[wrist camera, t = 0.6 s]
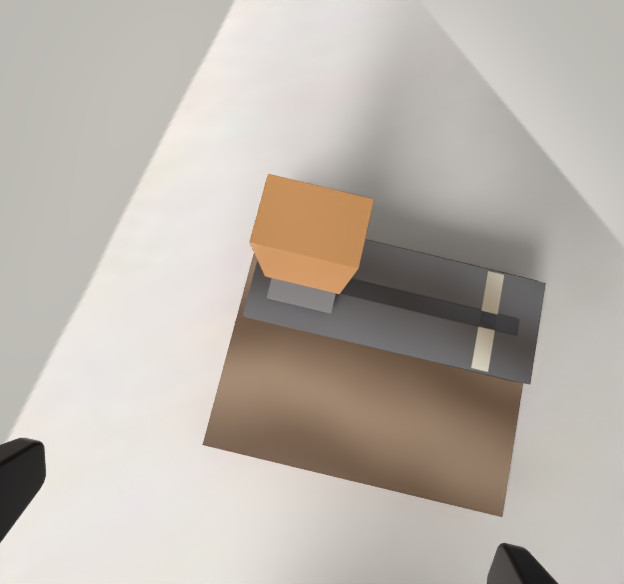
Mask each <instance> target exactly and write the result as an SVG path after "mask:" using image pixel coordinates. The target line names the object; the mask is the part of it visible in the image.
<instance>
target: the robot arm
mask: <svg viewBox="0 0 624 584" xmlns="http://www.w3.org/2000/svg"><path fill="white" fill-rule="evenodd" d="M45 477H46V464H45V448H44V445H43V443H42V442H40V441H38V440H33V439H29V438H18V439H15V440H13V441H10V442H7V443H4V444H1V445H0V543H1V541H2V540H3V539H4V537H5V536H6V535H7V533H8V532H9V530H10V529H11V528H12V526H13V525H14V524H15V522H16V521H17V520H18V518H19V517H20V516H21V514H22V513H23V511H24V510H25V509H26V507H27V506H28V505H29V503H30V502H31V501H32V499H33V498H34V497H35V495H36V494H37V492H38V491H39V490H40V488H41V487H42V485H43V483H44V480H45ZM487 584H558V583H557V582H556V581H555V580H554V579H553V577H552V576H551V575H550V574H549V573H548V572H547V571H546V570H545V569H544V568H543V567H542V565H541V564H540V563H539V562H538V561H537V560H536V559H535V558H534V557H533V556H532V555H531V553H530V552H529V551H528V550H526V549H525V548H523V547H520V546H516V545H511V544H507V543H502V544H500V545H499V546H498V548H497V551H496V554H495V557H494V559H493V562H492V565H491V568H490V570H489V573H488V577H487Z"/></svg>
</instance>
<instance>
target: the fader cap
mask: <svg viewBox="0 0 624 584" xmlns="http://www.w3.org/2000/svg"><path fill="white" fill-rule="evenodd" d="M373 202H374V199H371V198H367V197H363V196H358V195H354V194H350V193H346V192H342V191H338V190H333V189H329V188H325V187H321V186H317V185H313V184H308V183H304V182H300V181H296V180H292V179H288V178H284V177H279V176H275V175H271V174H268V176H267V179H266V183H265V187H264V190H263V194H262V198H261V202H260V205H259V209H258V213H257V216H256V220H255V224H254V227H253V231H252V235H251V239H250V245H251V247H252V249H253V251H254V253H255V256H256V258H257V260H258V262H259V264H260V267H261V269H262V271H263V273H264V275H265V276H266V277H270V278H272V279H271V283H270V287H269V290H268V294H267V298H268V299H271V300H276V301H280V302H284V303H288V304H292V305H296V306H301V307H305V308H309V309H313V310H317V311H321V312H325V313H331V312H332V307H333V303H334V299H335V294H340V293H341V291H342V290H343V289H344V287H345V286H346V285H347V283H348V282H349V281H350V279H351V278H352V277H353V275H354V274H355V273H356V271H357V270H358V268H359V264H360V260H361V255H362V251H363V246H364V242H365V237H366V233H367V228H368V224H369V220H370V215H371V211H372V206H373Z"/></svg>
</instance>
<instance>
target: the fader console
mask: <svg viewBox="0 0 624 584" xmlns="http://www.w3.org/2000/svg"><path fill="white" fill-rule="evenodd" d="M271 279H272V278H270V277H266V276H265V275H264V273H263V271H262V269H261V267H260V264H259V262H258V260H257V258H256V256H255V253H254V255H253V258H252V262H251V266H250V269H249V273H248V277H247V281H246V284H245V288H244V292H243V296H242V299H241V303H240V307H239V311H238V314H237V318H236V322H235V326H234V329H233V333H232V337H231V341H230V344H229V348H228V352H227V356H226V359H225V363H224V367H223V371H222V374H221V378H220V382H219V386H218V389H217V393H216V397H215V401H214V404H213V408H212V412H211V416H210V419H209V423H208V427H207V431H206V434H205V438H204V442H203V445H205V446H209V447H213V448H218V449H222V450H226V451H230V452H234V453H238V454H242V455H247V456H251V457H255V458H259V459H263V460H267V461H272V462H276V463H280V464H284V465H288V466H292V467H296V468H301V469H305V470H309V471H313V472H317V473H321V474H326V475H330V476H334V477H338V478H342V479H346V480H350V481H355V482H359V483H363V484H367V485H371V486H375V487H379V488H384V489H388V490H392V491H396V492H400V493H404V494H409V495H413V496H417V497H421V498H425V499H429V500H433V501H438V502H442V503H446V504H450V505H454V506H458V507H463V508H467V509H471V510H475V511H479V512H483V513H487V514H492V515H496V516H500V517H502V516H503V509H504V503H505V496H506V490H507V483H508V477H509V471H510V464H511V458H512V451H513V445H514V438H515V432H516V425H517V419H518V412H519V406H520V399H521V393H522V386H523V383H525V384H530V383H531V376H532V369H533V363H534V356H535V350H536V343H537V336H538V330H539V323H540V317H541V310H542V303H543V297H544V290H545V284H546V283H543V282H539V281H537V280H533V279H529V278H524V277H520V276H516V275H512V274H508V273H504V272H500V271H495V270H491V269H487V268H483V267H479V266H475V265H470V264H466V263H462V262H458V261H454V260H450V259H445V258H441V257H437V256H433V255H429V254H425V253H421V252H416V251H412V250H408V249H404V248H400V247H396V246H391V245H387V244H383V243H379V242H375V241H371V240H366V239H365V242H364V246H363V251H362V255H361V260H360V264H359V268H358V270H357V271H356V273H355V274H354V275H353V277H352V278H351V279H350V281H349V282H348V283H347V285H346V286H345V287H344V289H343V290H342V291H341V293H340V294H335V299H334V303H333V307H332V312H331V313H325V312H321V311H317V310H313V309H309V308H305V307H301V306H296V305H292V304H288V303H284V302H280V301H276V300H271V299H268V298H267V294H268V290H269V287H270V283H271Z"/></svg>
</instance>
